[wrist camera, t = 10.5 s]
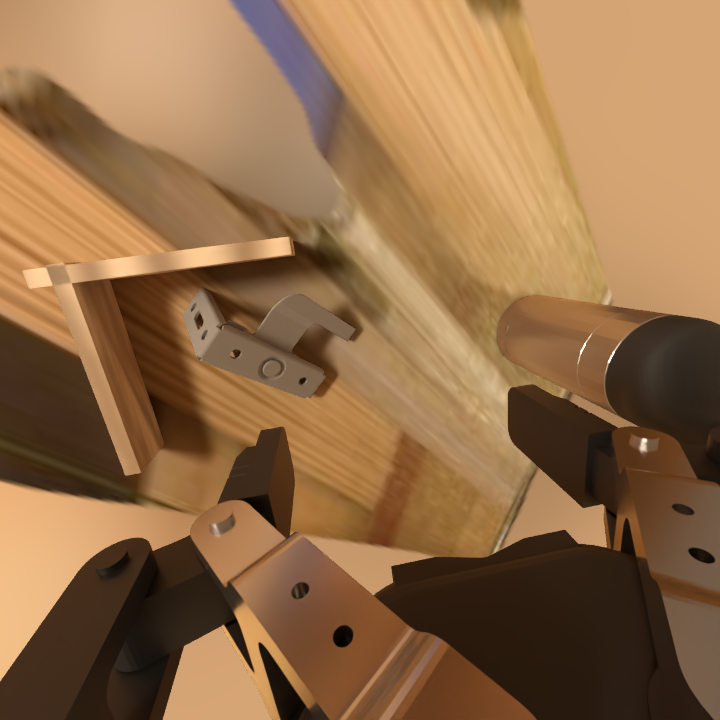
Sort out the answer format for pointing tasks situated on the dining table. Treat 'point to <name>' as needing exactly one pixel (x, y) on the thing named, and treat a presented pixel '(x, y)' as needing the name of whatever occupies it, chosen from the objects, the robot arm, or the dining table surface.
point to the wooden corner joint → (110, 338)
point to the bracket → (262, 341)
